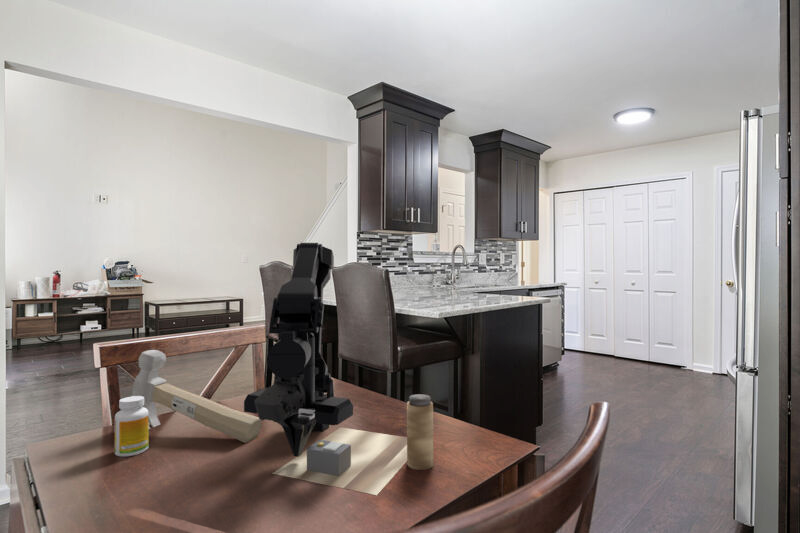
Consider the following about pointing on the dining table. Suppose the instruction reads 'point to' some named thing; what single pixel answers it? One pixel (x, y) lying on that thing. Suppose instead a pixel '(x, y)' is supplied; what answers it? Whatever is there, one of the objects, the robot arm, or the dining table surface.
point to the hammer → (188, 402)
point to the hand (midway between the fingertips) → (297, 455)
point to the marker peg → (420, 432)
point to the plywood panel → (357, 461)
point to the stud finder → (329, 457)
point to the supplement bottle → (131, 427)
